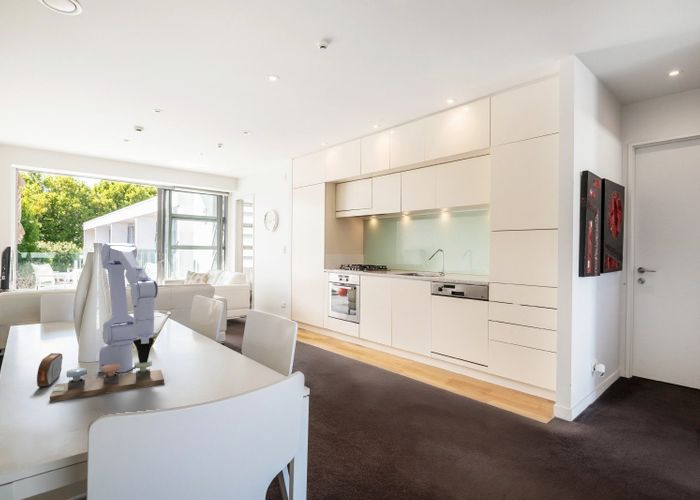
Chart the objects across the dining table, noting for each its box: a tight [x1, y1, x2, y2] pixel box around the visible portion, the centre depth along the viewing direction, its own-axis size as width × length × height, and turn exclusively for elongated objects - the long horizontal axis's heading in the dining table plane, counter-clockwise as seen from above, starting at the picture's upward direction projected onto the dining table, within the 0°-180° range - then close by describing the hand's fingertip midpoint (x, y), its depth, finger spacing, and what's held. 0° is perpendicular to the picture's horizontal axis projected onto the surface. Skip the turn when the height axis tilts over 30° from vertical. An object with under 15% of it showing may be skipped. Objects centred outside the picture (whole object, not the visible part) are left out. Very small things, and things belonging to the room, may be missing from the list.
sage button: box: [134, 359, 153, 373], centre depth 118 cm, size 5×5×3 cm
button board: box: [49, 368, 165, 403], centre depth 114 cm, size 28×11×3 cm, turn 122°
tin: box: [36, 352, 63, 388], centre depth 117 cm, size 15×3×8 cm, turn 23°
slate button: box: [65, 367, 88, 382], centre depth 109 cm, size 5×5×3 cm
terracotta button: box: [101, 364, 121, 377], centre depth 114 cm, size 5×5×3 cm
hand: (143, 362), depth 118 cm, fingers closed, pressing on sage button
